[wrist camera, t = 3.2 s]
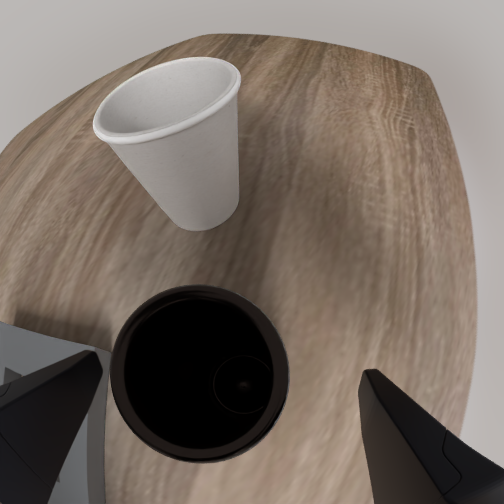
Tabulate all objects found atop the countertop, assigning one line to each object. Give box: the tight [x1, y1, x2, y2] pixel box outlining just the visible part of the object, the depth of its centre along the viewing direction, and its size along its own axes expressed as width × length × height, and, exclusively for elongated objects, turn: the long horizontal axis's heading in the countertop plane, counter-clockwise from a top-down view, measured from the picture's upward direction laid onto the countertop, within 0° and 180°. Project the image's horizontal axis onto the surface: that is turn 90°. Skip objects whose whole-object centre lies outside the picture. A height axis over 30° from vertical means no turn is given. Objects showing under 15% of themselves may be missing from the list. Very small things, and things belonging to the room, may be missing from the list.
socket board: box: [0, 322, 111, 504], centre depth 12 cm, size 18×12×2 cm, turn 177°
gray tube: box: [110, 284, 290, 464], centre depth 11 cm, size 4×4×10 cm
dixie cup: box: [93, 57, 241, 231], centre depth 17 cm, size 8×8×10 cm
